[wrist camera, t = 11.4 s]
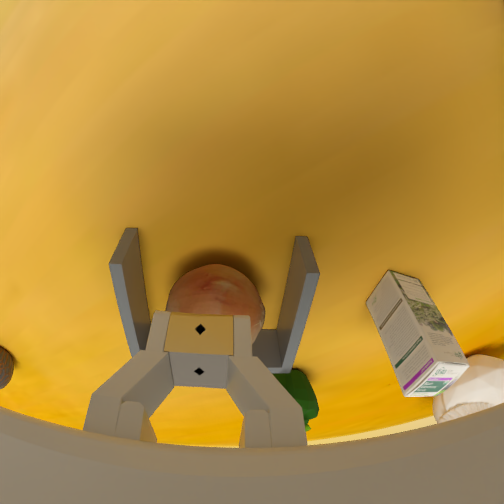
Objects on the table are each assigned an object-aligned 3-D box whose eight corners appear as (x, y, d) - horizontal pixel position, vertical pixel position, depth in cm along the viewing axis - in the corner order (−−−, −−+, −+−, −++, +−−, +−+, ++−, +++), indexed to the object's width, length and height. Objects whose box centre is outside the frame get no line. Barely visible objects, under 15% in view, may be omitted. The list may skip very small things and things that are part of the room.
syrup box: (363, 302, 39) (401, 400, 27) (388, 267, 36) (440, 365, 24) (396, 310, 40) (436, 399, 29) (420, 277, 37) (472, 366, 25)
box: (307, 236, 33) (320, 273, 28) (284, 335, 42) (290, 373, 37) (126, 227, 31) (108, 263, 26) (143, 329, 40) (134, 366, 35)
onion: (268, 304, 38) (277, 375, 30) (189, 319, 39) (181, 388, 31) (250, 236, 33) (256, 307, 25) (158, 257, 34) (139, 328, 25)
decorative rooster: (422, 401, 59) (453, 496, 39) (425, 369, 51) (468, 486, 30) (510, 356, 55) (551, 439, 34) (526, 316, 46) (581, 411, 26)
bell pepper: (260, 393, 50) (264, 447, 42) (255, 366, 45) (259, 427, 37) (310, 387, 50) (320, 440, 42) (312, 359, 45) (324, 418, 37)
